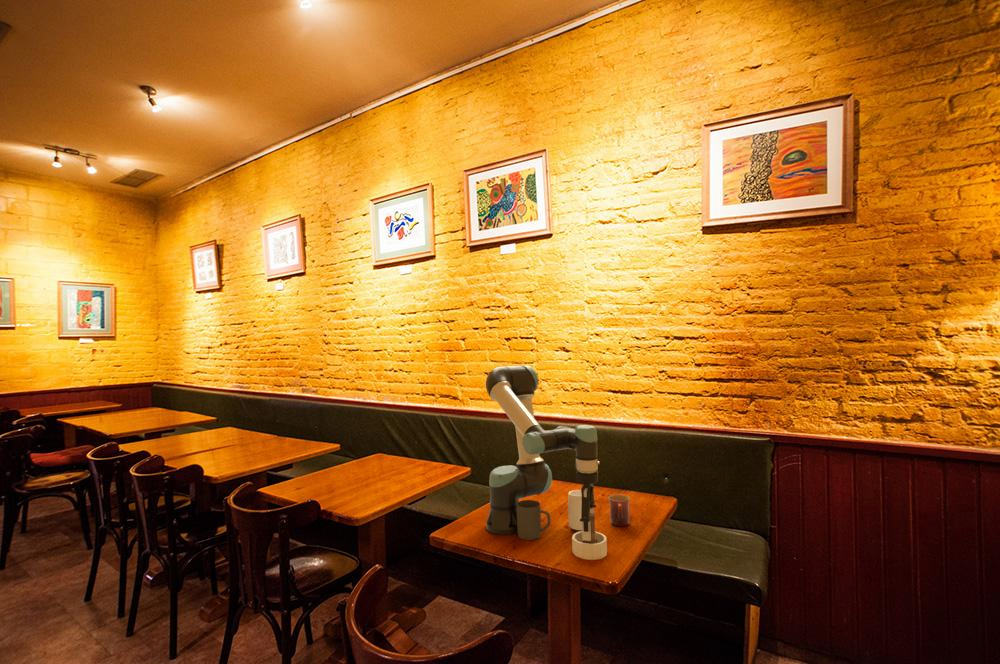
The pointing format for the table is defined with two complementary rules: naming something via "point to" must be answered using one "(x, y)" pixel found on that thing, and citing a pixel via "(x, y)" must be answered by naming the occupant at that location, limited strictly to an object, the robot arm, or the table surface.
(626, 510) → the mug
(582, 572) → the table surface
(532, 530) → the mug
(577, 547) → the white round bowl
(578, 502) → the cup
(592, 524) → the tall brown wooden block
